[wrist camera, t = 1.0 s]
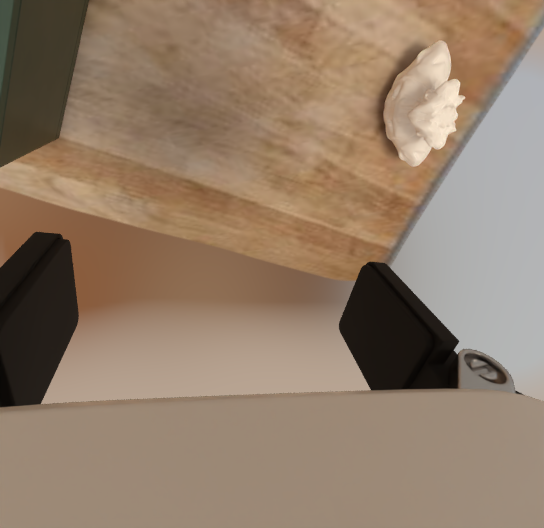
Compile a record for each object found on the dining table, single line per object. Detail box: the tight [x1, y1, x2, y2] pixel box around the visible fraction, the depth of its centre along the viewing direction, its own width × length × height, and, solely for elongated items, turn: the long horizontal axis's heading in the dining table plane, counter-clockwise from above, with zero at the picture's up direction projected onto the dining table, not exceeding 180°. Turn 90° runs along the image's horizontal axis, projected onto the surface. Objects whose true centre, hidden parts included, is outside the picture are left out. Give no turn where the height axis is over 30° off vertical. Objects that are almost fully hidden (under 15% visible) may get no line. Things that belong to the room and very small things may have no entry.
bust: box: [383, 40, 465, 167], centre depth 33 cm, size 12×8×11 cm
